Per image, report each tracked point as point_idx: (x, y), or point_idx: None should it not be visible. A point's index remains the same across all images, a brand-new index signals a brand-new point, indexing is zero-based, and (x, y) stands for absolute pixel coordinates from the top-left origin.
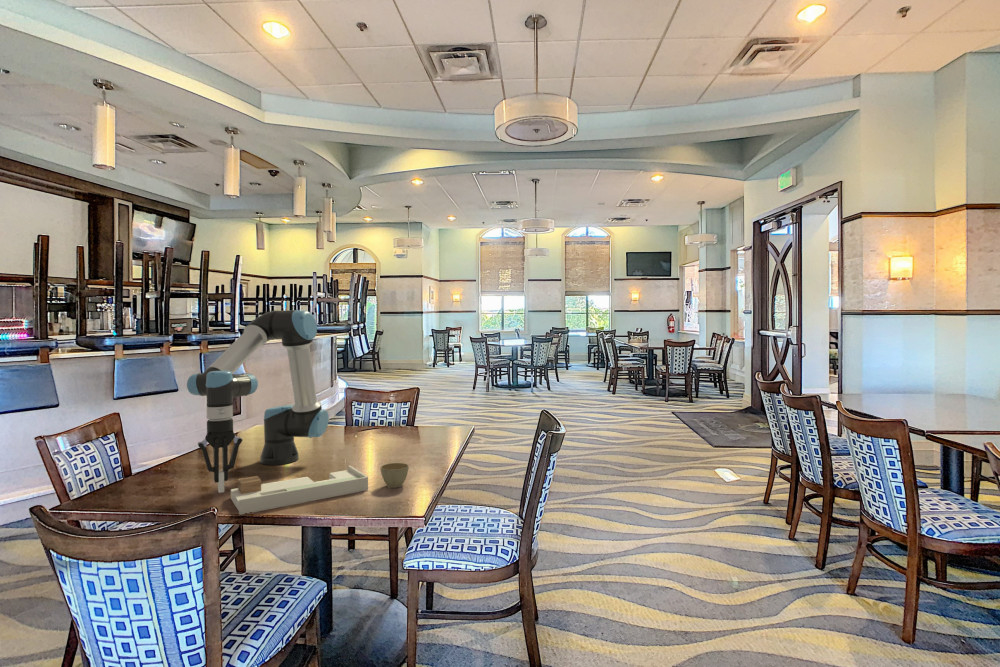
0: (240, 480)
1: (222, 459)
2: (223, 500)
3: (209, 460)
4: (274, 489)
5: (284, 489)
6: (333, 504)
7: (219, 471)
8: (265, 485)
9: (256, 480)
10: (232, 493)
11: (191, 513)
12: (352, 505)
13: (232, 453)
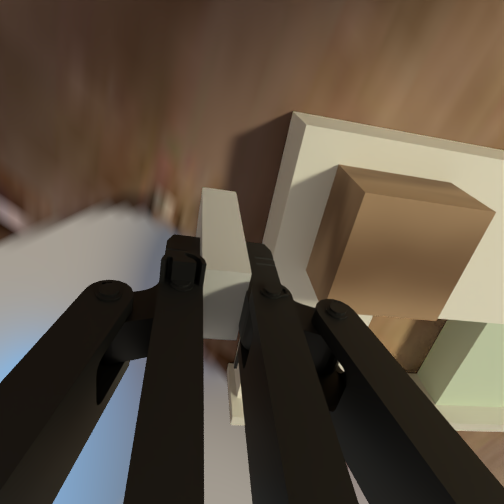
0: (355, 246)
1: (264, 371)
2: (245, 119)
3: (67, 464)
4: (453, 304)
5: (483, 319)
6: (483, 439)
7: (210, 298)
8: (484, 203)
9: (416, 312)
10: (286, 194)
11: (46, 228)
12: (500, 466)
13: (389, 487)
